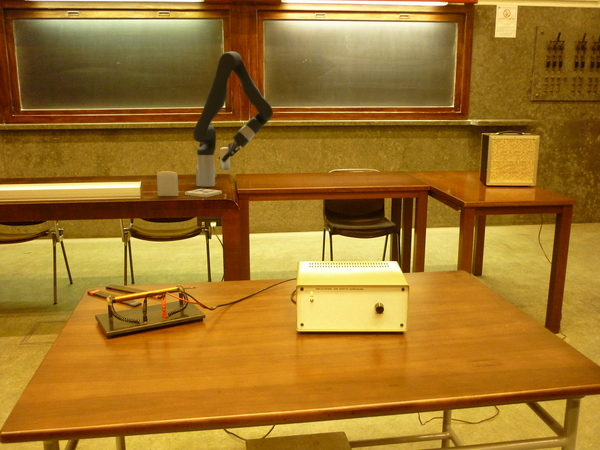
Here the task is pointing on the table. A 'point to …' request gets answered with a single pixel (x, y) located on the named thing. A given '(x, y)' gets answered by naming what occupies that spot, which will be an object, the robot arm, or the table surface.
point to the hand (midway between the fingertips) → (221, 160)
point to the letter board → (203, 192)
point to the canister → (226, 164)
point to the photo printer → (167, 183)
